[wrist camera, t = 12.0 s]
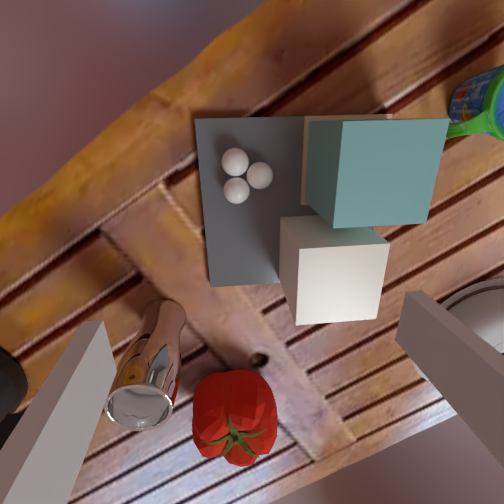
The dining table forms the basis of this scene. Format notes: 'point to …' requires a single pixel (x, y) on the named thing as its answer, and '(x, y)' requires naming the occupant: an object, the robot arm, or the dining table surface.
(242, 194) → the marble
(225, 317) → the dining table surface
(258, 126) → the board
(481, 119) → the snack cup
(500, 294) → the round ceiling alarm
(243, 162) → the marble
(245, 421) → the tomato
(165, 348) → the beer glass
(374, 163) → the seafoam cube
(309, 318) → the ivory cuboid
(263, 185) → the marble
